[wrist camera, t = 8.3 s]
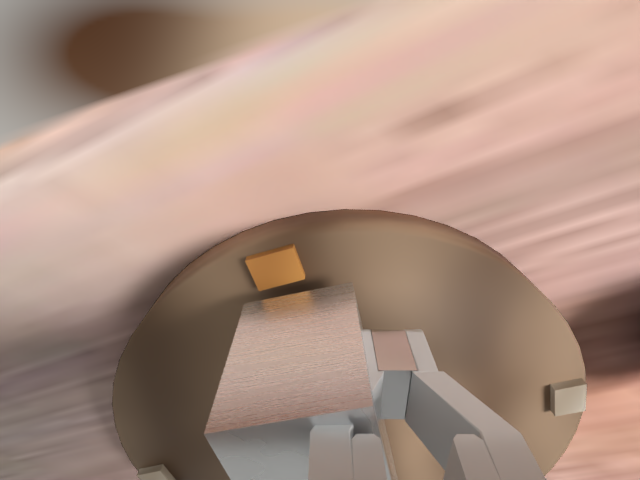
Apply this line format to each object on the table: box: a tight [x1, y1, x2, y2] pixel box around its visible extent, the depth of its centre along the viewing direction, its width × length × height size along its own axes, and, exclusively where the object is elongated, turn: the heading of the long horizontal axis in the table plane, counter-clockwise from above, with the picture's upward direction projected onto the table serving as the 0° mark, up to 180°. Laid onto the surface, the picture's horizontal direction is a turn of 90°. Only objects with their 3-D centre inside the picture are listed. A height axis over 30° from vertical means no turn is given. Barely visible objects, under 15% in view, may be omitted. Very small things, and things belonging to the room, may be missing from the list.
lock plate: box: [112, 209, 587, 480], centre depth 16 cm, size 20×20×3 cm
